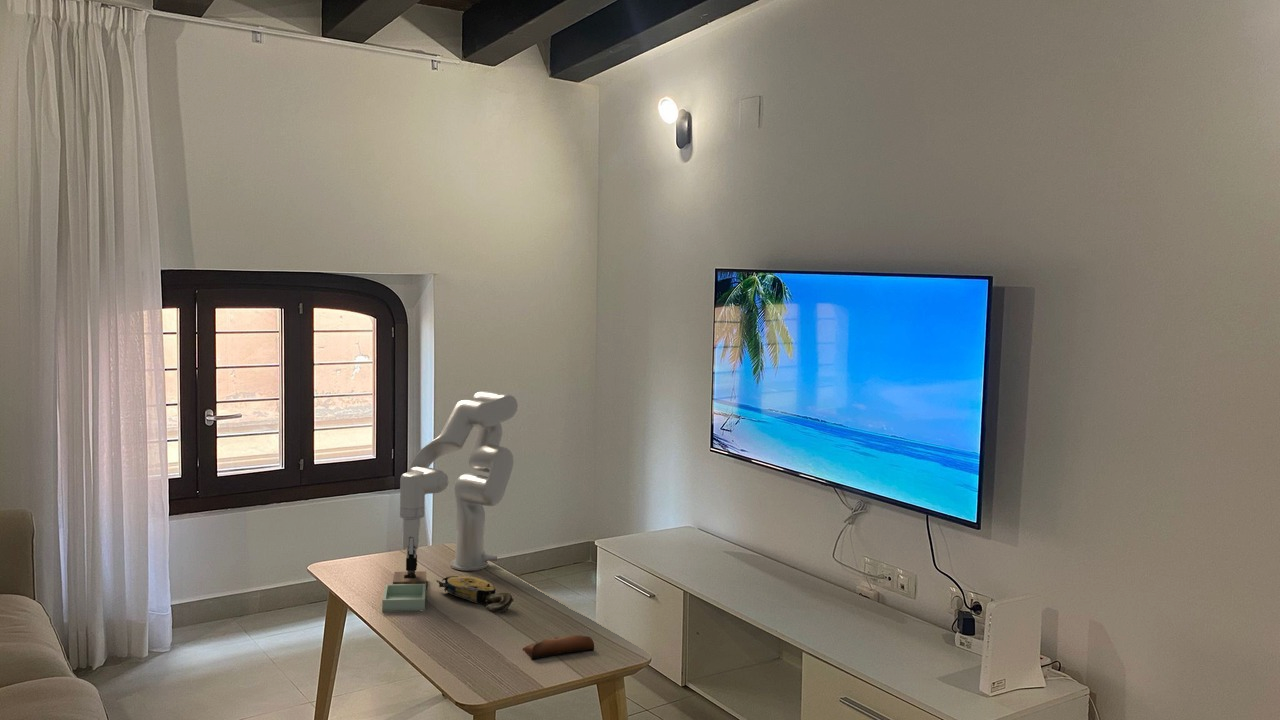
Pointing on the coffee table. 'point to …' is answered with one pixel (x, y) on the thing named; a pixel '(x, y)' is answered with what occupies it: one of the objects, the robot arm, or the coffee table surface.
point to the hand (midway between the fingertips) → (411, 568)
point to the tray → (404, 597)
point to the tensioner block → (402, 578)
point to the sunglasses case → (559, 646)
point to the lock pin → (411, 574)
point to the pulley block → (477, 592)
